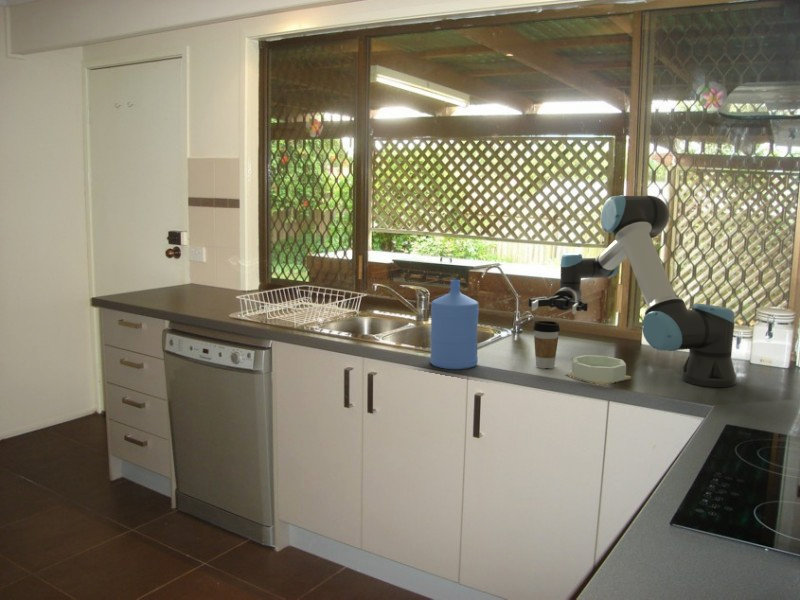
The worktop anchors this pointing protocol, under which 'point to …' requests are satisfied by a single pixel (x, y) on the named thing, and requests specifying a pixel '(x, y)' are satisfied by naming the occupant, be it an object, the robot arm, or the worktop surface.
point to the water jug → (454, 330)
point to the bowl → (598, 369)
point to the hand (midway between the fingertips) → (552, 308)
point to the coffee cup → (546, 343)
